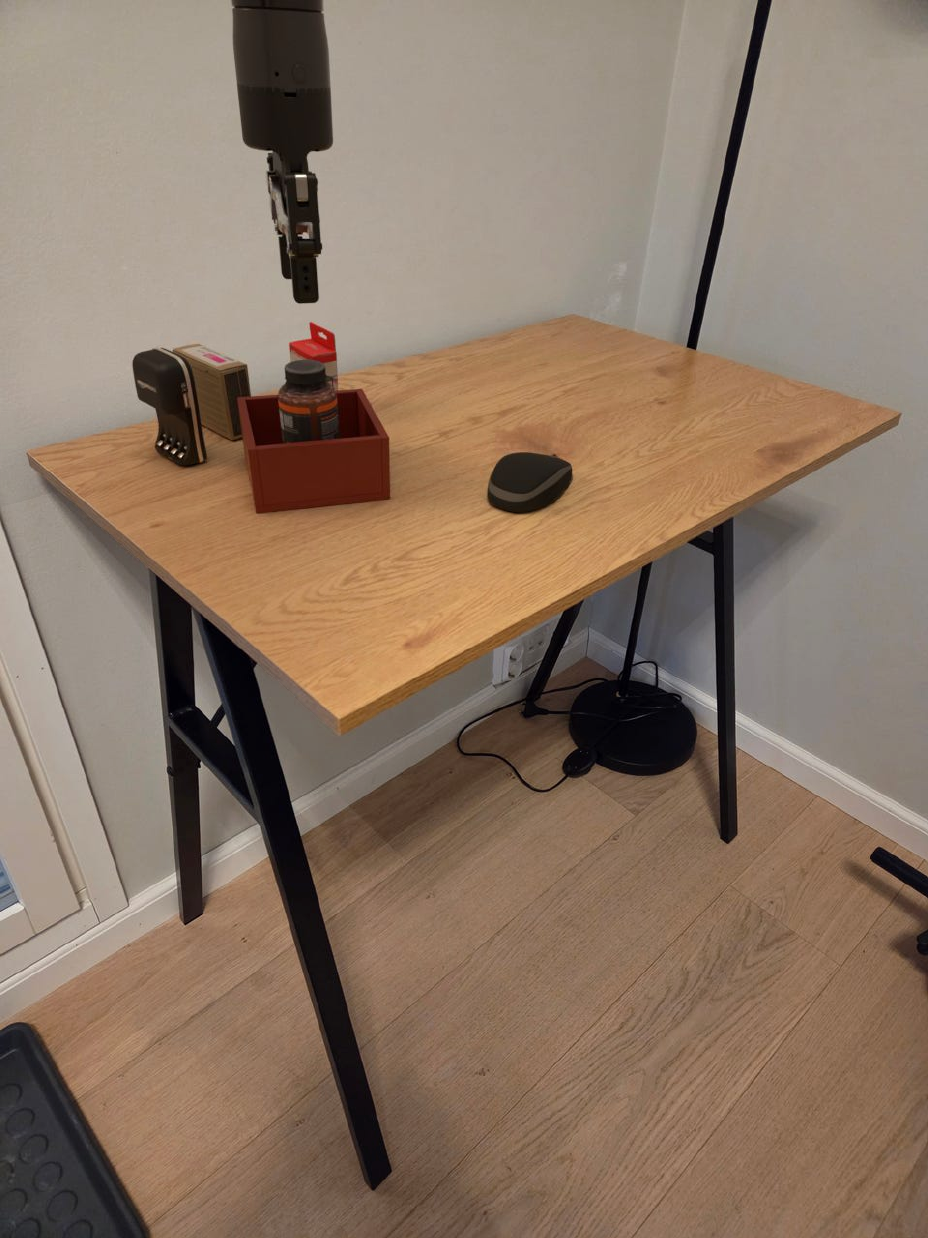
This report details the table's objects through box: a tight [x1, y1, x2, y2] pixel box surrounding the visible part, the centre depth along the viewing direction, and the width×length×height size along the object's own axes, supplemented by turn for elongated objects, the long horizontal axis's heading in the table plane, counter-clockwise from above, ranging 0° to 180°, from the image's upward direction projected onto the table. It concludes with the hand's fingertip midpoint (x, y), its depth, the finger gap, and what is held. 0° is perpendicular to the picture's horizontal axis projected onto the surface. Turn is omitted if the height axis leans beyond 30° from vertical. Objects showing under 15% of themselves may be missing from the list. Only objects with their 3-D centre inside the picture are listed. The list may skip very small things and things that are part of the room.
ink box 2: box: [288, 321, 339, 391], centre depth 97 cm, size 6×3×10 cm, turn 40°
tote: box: [237, 388, 391, 514], centre depth 83 cm, size 14×14×7 cm
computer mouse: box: [486, 451, 573, 513], centre depth 84 cm, size 7×12×4 cm, turn 146°
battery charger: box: [131, 347, 208, 467], centre depth 84 cm, size 7×4×11 cm, turn 47°
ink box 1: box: [172, 343, 252, 441], centre depth 93 cm, size 10×4×8 cm, turn 46°
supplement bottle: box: [277, 360, 340, 444], centre depth 81 cm, size 6×6×11 cm
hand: (299, 289), depth 74 cm, fingers open, 8 cm apart
